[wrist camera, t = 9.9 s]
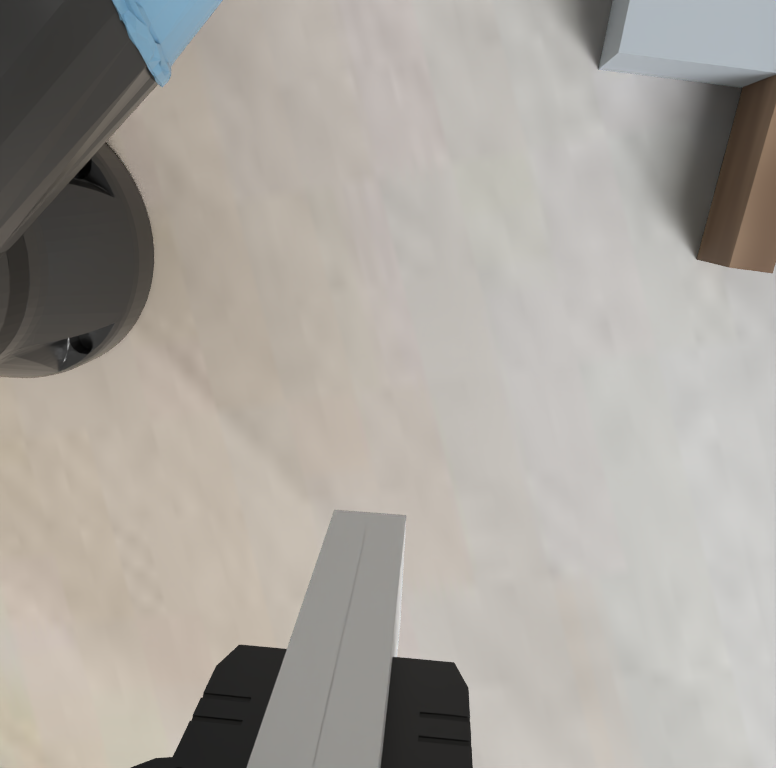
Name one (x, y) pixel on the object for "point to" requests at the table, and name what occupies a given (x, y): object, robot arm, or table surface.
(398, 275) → the table surface
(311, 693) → the robot arm
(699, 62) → the block
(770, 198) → the board
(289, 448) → the table surface
